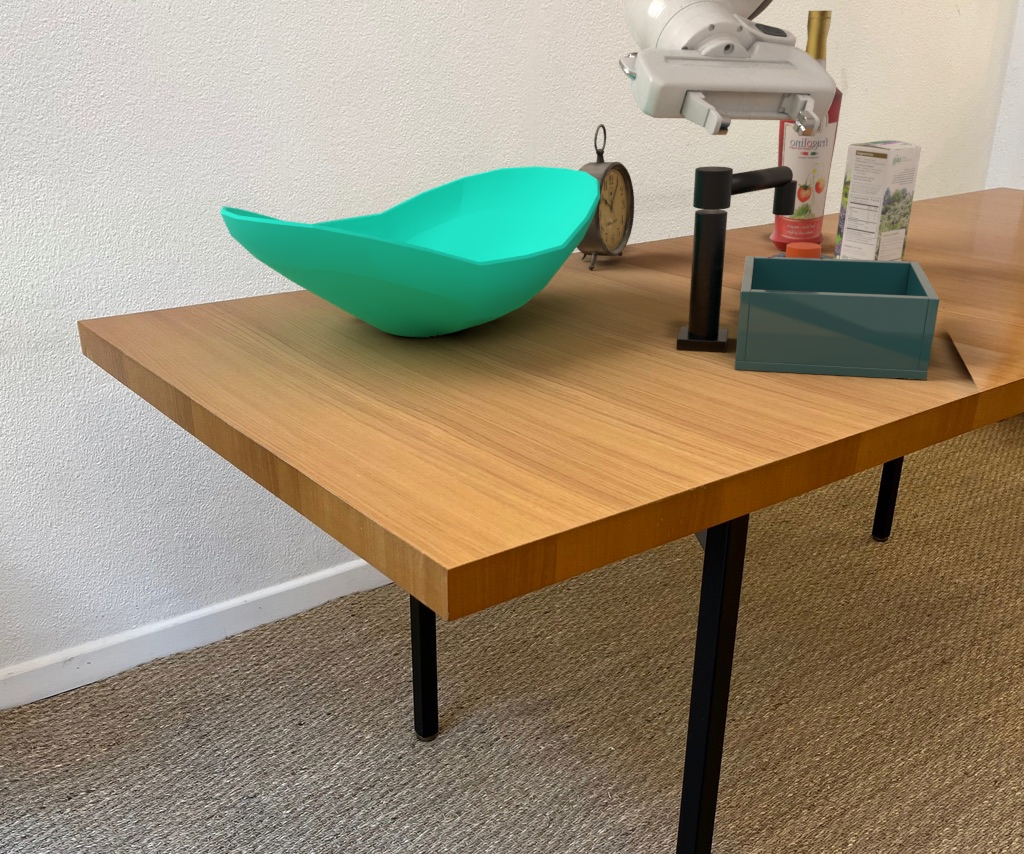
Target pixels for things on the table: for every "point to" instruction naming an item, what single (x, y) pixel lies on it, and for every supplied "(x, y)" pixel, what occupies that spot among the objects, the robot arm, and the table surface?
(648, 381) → the table surface
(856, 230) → the syrup box
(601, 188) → the alarm clock
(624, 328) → the table surface
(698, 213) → the dark post on base
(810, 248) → the button
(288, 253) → the table top decor
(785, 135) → the liquor
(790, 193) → the spout
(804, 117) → the robot arm
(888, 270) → the sink
